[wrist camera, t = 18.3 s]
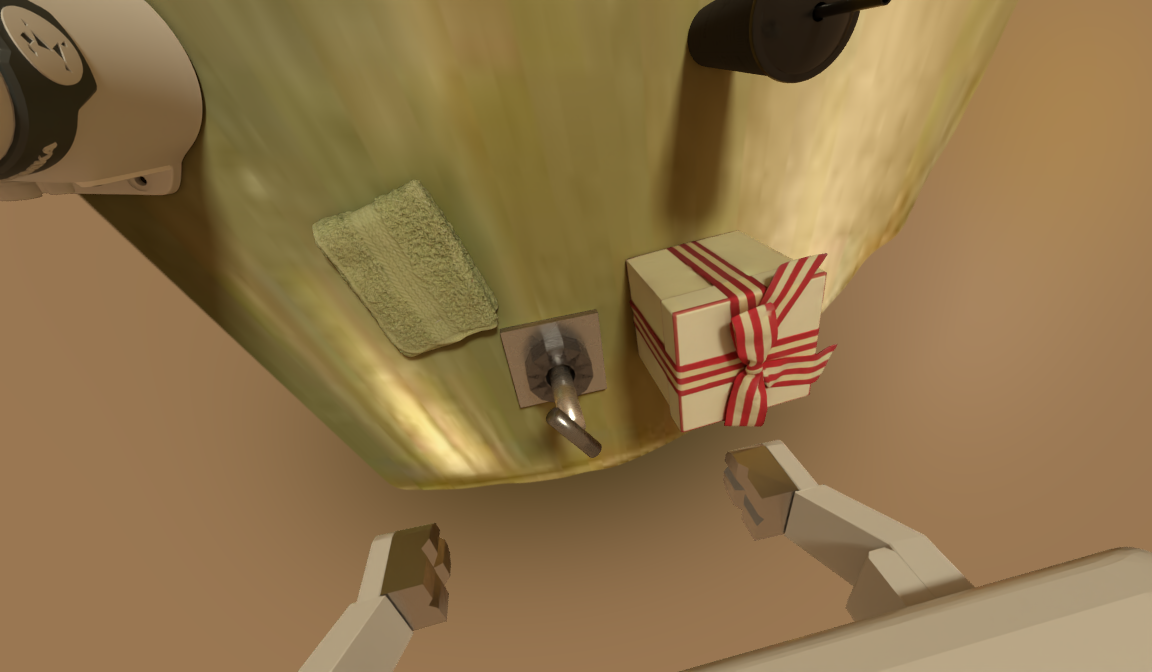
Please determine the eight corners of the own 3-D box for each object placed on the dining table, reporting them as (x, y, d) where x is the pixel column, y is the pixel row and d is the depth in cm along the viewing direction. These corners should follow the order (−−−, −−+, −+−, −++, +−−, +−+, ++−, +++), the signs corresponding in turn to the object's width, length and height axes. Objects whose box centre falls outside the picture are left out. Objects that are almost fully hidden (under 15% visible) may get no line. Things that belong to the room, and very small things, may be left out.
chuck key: (581, 373, 55) (606, 449, 43) (566, 384, 55) (586, 462, 44) (547, 340, 51) (564, 413, 40) (531, 352, 52) (544, 428, 40)
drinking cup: (767, 12, 38) (985, -45, 22) (720, 98, 41) (879, 107, 25) (703, -38, 36) (895, -149, 19) (658, 58, 39) (789, 37, 22)
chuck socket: (520, 403, 57) (522, 423, 53) (499, 328, 50) (500, 346, 47) (605, 384, 58) (612, 402, 54) (595, 309, 51) (603, 324, 48)
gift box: (765, 319, 57) (860, 399, 43) (639, 362, 57) (690, 457, 43) (762, 198, 48) (881, 248, 33) (611, 250, 48) (665, 322, 33)
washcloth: (408, 355, 50) (404, 371, 48) (308, 223, 41) (295, 232, 38) (507, 313, 50) (508, 326, 47) (428, 169, 41) (424, 175, 38)
